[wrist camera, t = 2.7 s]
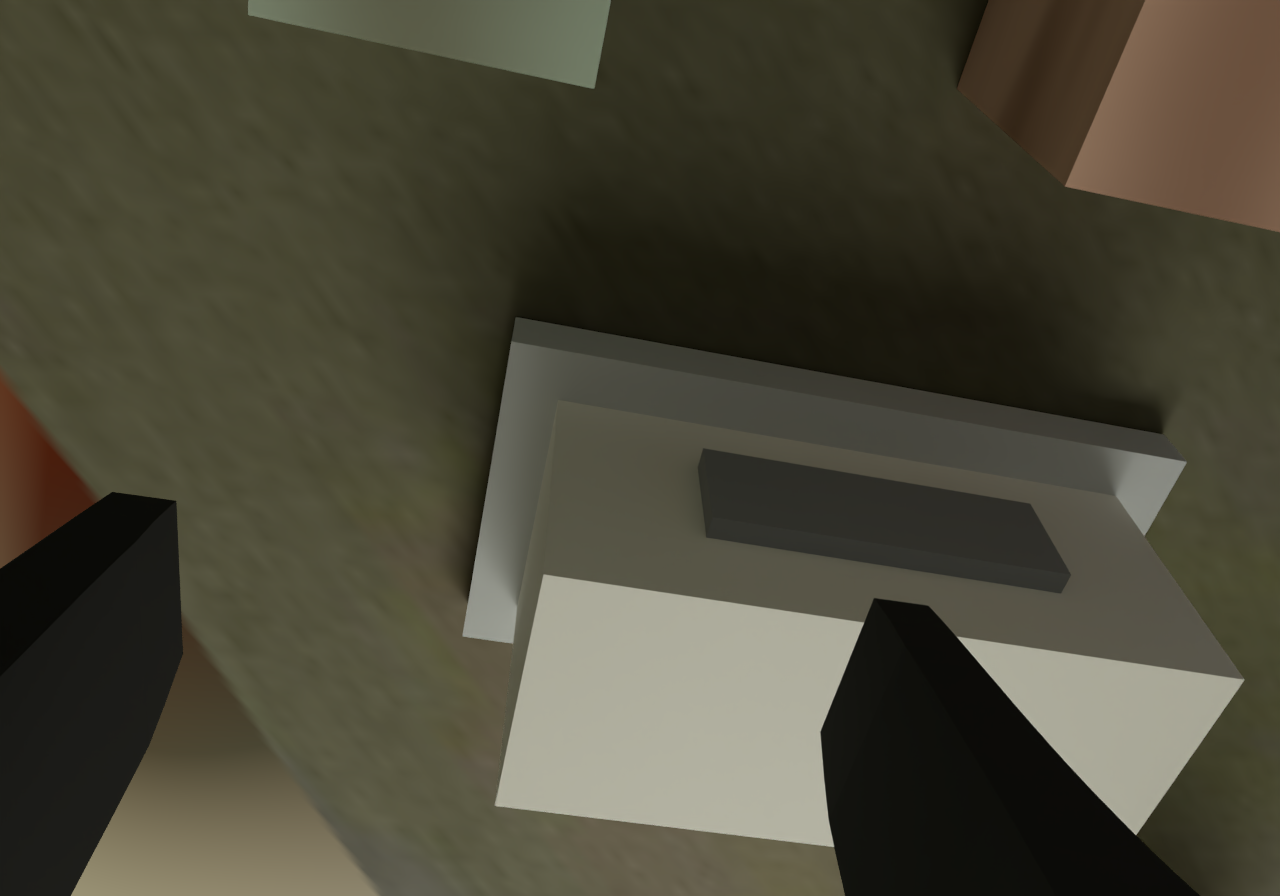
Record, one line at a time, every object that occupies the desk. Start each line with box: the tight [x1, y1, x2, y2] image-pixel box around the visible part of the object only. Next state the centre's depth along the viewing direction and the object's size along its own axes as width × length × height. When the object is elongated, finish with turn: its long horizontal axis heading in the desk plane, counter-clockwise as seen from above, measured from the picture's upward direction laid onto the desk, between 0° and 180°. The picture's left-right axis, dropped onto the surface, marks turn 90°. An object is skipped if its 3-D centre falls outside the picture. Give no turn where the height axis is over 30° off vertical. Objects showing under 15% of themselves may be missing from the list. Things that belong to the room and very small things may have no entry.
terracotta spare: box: [957, 0, 1280, 232], centre depth 15 cm, size 4×4×5 cm
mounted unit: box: [463, 317, 1244, 847], centre depth 20 cm, size 13×7×6 cm, turn 78°
